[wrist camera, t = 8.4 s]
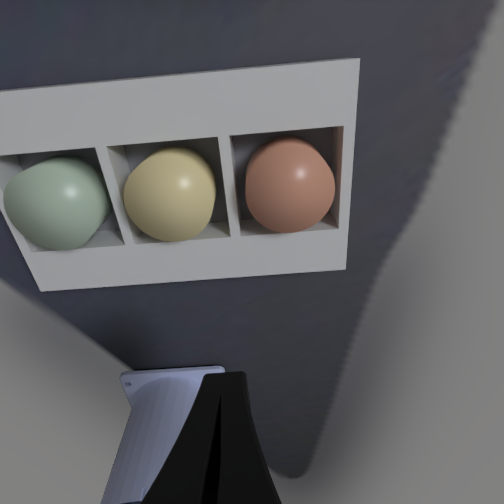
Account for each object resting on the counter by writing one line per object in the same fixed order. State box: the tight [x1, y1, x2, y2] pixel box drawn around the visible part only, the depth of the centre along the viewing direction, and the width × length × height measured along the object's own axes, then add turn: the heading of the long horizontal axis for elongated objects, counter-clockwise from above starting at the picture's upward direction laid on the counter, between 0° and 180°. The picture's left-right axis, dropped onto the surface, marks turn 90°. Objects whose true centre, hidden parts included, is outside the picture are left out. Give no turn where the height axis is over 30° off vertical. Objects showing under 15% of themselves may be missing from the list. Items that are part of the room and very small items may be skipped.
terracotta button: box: [245, 136, 335, 233], centre depth 16 cm, size 4×4×2 cm
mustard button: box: [124, 146, 217, 242], centre depth 16 cm, size 4×4×2 cm
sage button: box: [3, 155, 113, 250], centre depth 17 cm, size 4×4×2 cm
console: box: [0, 58, 360, 291], centre depth 17 cm, size 10×17×3 cm, turn 95°
